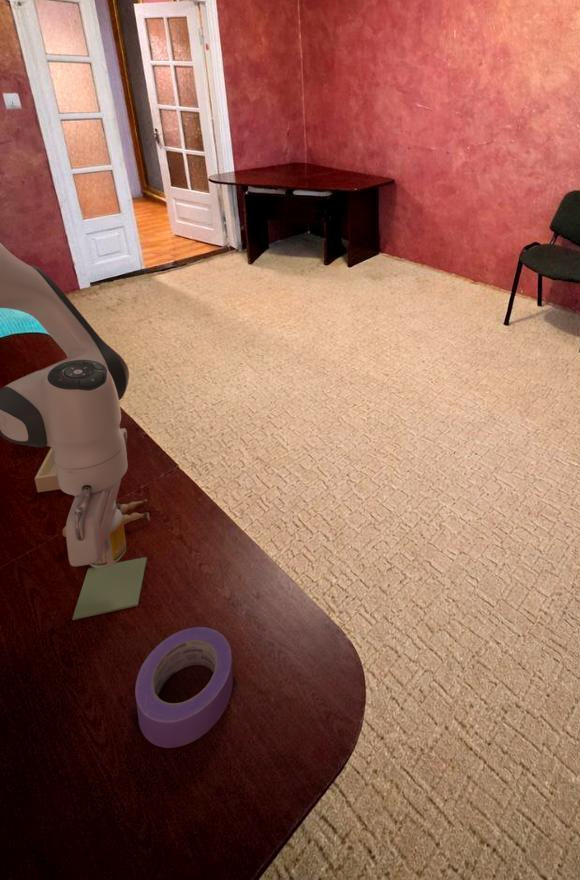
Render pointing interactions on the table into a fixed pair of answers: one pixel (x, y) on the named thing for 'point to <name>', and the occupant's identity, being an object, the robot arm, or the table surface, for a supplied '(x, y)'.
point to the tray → (47, 474)
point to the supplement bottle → (113, 540)
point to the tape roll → (197, 714)
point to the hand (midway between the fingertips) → (104, 537)
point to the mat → (111, 588)
